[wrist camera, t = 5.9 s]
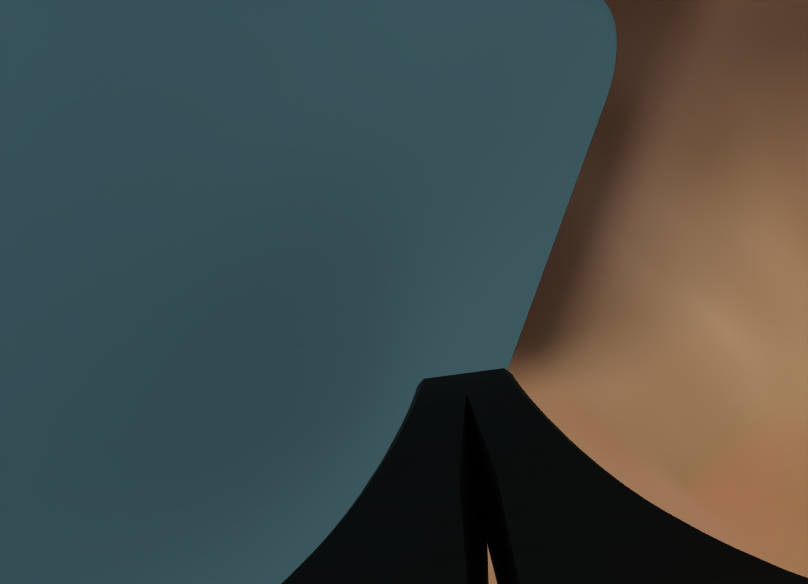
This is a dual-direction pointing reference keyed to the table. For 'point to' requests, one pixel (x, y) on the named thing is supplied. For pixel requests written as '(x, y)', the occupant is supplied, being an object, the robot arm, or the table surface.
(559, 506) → the robot arm
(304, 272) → the data package
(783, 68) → the table surface
